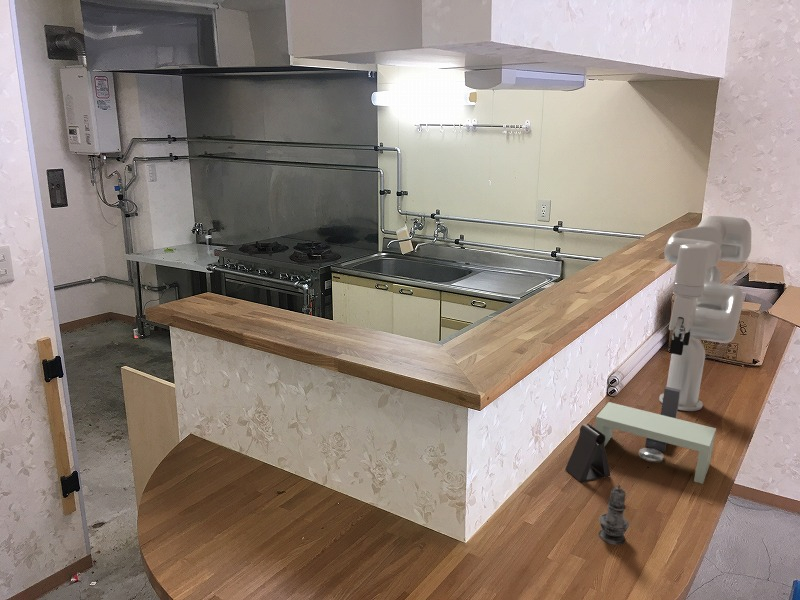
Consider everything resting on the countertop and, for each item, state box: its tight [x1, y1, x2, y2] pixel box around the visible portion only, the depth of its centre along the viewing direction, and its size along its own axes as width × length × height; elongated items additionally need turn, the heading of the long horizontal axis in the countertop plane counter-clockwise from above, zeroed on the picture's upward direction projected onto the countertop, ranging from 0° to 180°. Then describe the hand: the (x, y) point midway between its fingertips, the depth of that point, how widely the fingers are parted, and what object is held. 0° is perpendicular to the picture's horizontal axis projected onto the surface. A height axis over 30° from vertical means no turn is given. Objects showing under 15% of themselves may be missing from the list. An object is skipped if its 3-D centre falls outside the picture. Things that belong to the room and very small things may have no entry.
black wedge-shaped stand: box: [564, 423, 611, 483], centre depth 157 cm, size 9×6×12 cm, turn 110°
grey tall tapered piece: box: [598, 484, 630, 546], centre depth 132 cm, size 6×6×12 cm
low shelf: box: [594, 401, 717, 485], centre depth 166 cm, size 12×27×10 cm, turn 58°
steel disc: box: [638, 447, 665, 463], centre depth 168 cm, size 6×6×1 cm
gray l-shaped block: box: [644, 386, 681, 453], centre depth 178 cm, size 17×5×12 cm, turn 148°
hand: (679, 349), depth 179 cm, fingers open, 9 cm apart
